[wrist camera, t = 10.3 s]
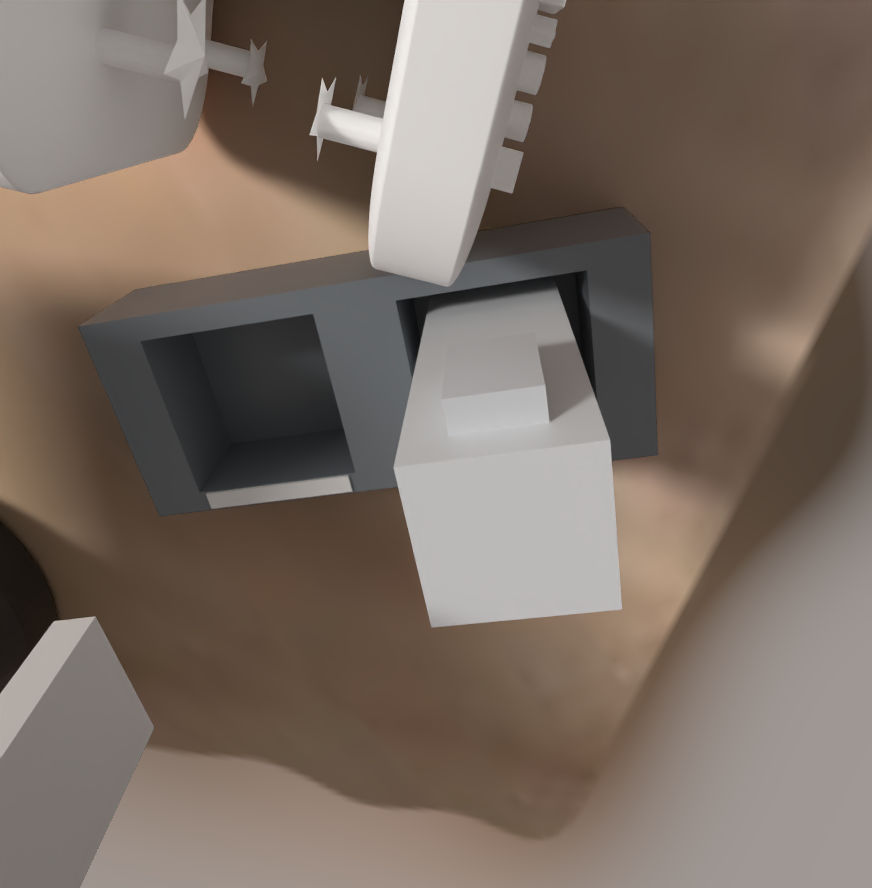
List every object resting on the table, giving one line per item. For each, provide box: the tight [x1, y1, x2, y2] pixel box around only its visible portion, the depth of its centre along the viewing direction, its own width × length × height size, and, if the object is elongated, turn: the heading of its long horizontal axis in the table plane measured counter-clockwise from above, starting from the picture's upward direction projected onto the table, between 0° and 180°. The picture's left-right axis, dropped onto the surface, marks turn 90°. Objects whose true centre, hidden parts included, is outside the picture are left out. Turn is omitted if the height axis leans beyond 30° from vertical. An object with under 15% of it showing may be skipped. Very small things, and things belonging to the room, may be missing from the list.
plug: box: [393, 276, 622, 628], centre depth 19 cm, size 4×5×12 cm
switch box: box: [78, 207, 658, 516], centre depth 23 cm, size 17×7×4 cm, turn 100°
